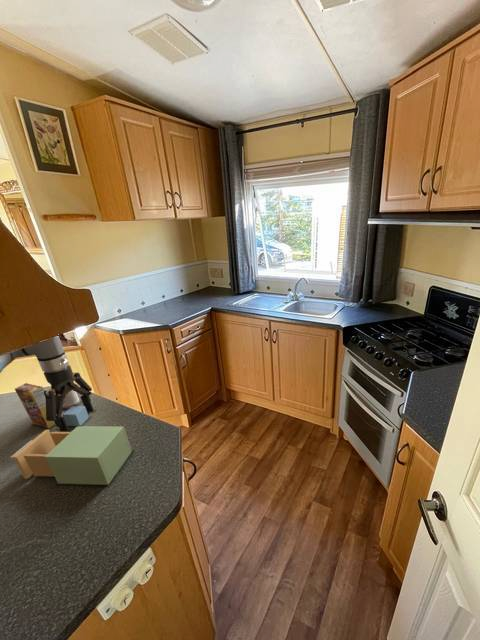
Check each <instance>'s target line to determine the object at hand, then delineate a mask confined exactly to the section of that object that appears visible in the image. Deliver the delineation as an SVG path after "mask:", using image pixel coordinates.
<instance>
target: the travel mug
mask: <svg viewBox="0 0 480 640" xmlns="http://www.w3.org/2000/svg"><path fill="white" fill-rule="evenodd" d="M58 396H61V395H59V394H58ZM80 403H81V399H80V397H79V395H78V393H77V392H75V391H73V390H72V391H70V392H68V394H66V397H65V398H64V401H63V407H62V409H67V410H68V409H70V408H71V407H72V406H79V404H80Z"/></svg>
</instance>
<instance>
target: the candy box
mask: <svg viewBox="0 0 480 640" xmlns="http://www.w3.org/2000/svg"><path fill="white" fill-rule="evenodd" d="M14 391H15V392H16V394H17V396H18V398H19V400H20V402H21V404H22V406H23V408H24V410H25V411H26V413H27V415H28V417H29V419H30V421H31V423H32V424H33V425H37V426H40V427H43V428H47V429H50V428H52V427H54V426H56V424H55V422H54V421H47V420H46V399H45V396H44V391H46V390H45V387H44V386H41V385H36V384H31V383H28V382H25V383H23V384H21V385H19V386H17V387H14Z"/></svg>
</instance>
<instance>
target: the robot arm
mask: <svg viewBox="0 0 480 640" xmlns="http://www.w3.org/2000/svg"><path fill="white" fill-rule="evenodd" d="M30 356H35V357H36V359H37V362H38V364H39V367H40V369H41V371H42V372H43V376H44V378H45V380H46V382H47V383H48V384H49V385H50V389H49V390H45V391H44V396H45V399H46V420H47V421H54V422H55V426H56V427H57V428H58V429H59V432H71V431H70V428H69V426H67V423H66V421H65V419H64V417H63V416H62V414H63V408H62V407H63V401H64V398H65V397H66V394H68V392H70V391H72V390H73V391H75V392H77V394H79V395H81V396H79V399H80V401H81V402H82V406H85V408H86V411H87V412H93V411H95V409H94V406H93V404H92V401H91V397H90V396H91V395H92V390H93V388H92V387H91V386H90V385H89V384H88V383H87V382H86V380H85V379H83V378H82V376H81V373H80V372H74V371H73V369H72V367H71V365H70V362H69V360H68V356H67V355H66V352H65V349H64V346H63V344H62V341H61V338H60V335H59V336H57V337H54V338H51V339H48V340H45V341H42V342H40V343H39V344H36V345H32V346H29V347H26V348H23V349H20V350H18V351H15V352H12V353H9V354H5V355H3V356H0V374H1V373H2V372H3V371H4V369H6V367H7V366H9V365H10V364H11V363H12V362H14V361H15V360H16V359H18V358H23V357H30ZM58 394H59V395H61V396H58Z"/></svg>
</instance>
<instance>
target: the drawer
mask: <svg viewBox="0 0 480 640" xmlns="http://www.w3.org/2000/svg"><path fill="white" fill-rule="evenodd" d="M71 432H72V431H70V432H60V431H51V432H50V429H45V430H43V431H41V433H39V434H38V435H37V436H35V438H34V439H30V440H29V441H28V442H26V443H25V444H24V445H23V446H22V447H20V448H19V449H18V450H17V451H16V452H14V453H13V454H12V455H11V456H10V457H9V458H8V459H9V460H10V461H11V462H15V464H16V466H17V468H18V469H19V472H20V473H21V475H22V478H23V479H26V480H27V479H29V478H31V477H32V476H34V477H55V476H54V474H53V472H52V470H51V468H50V466H49V464H48V462H47V460H46V459H45V456H46V455H47V454H48V453H49V452H50V451H51V450H53V449H54V448H55V447H56V446H57V445H58V444H59V443H60V442H61V441H62V440H63V439H64V438H65V437H66V436H68V435H69V434H70V433H71Z"/></svg>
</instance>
